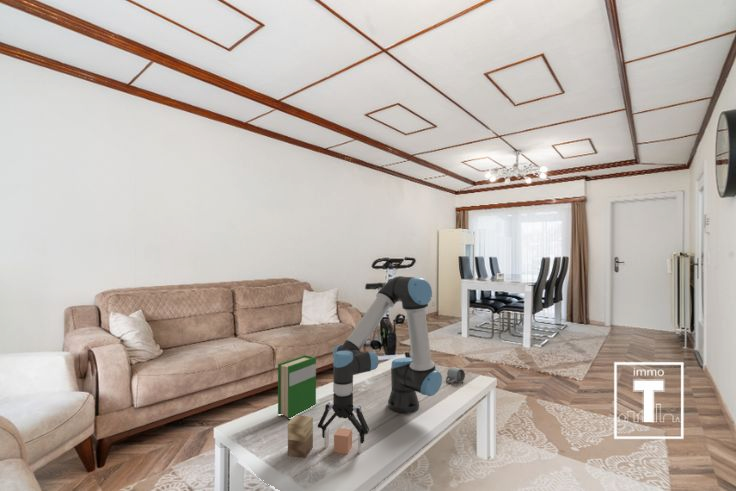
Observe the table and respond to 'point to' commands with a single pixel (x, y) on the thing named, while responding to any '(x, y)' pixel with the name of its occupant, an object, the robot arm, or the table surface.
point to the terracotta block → (343, 440)
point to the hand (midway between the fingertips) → (343, 448)
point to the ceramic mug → (455, 375)
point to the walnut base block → (300, 447)
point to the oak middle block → (300, 428)
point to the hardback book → (296, 385)
